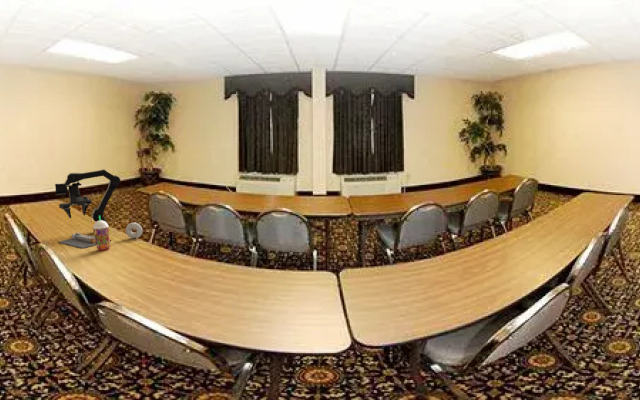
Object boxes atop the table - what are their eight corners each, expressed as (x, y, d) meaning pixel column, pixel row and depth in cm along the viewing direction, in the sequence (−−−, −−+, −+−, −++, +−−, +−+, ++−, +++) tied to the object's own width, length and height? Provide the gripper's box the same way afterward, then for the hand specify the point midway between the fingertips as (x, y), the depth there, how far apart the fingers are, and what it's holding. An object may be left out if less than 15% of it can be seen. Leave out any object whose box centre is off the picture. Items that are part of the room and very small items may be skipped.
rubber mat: (86, 235, 310) (86, 234, 310) (111, 241, 295) (111, 240, 295) (58, 242, 296) (58, 241, 295) (82, 248, 280) (82, 247, 280)
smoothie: (96, 252, 272) (91, 218, 268) (95, 249, 279) (90, 215, 275) (112, 250, 276) (108, 216, 272) (110, 246, 283) (106, 213, 279)
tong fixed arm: (72, 238, 301) (71, 233, 301) (78, 237, 305) (77, 231, 304) (92, 243, 288) (92, 237, 288) (99, 241, 292) (98, 236, 291)
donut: (125, 239, 297) (123, 223, 295) (127, 238, 301) (125, 222, 299) (142, 238, 298) (140, 222, 296) (143, 237, 301) (142, 221, 300)
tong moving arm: (76, 239, 299) (75, 235, 298) (78, 238, 300) (78, 234, 300) (93, 243, 289) (92, 239, 288) (95, 242, 290) (95, 238, 289)
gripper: (66, 196, 295) (70, 221, 298) (95, 191, 310) (98, 215, 313) (57, 195, 301) (60, 219, 304) (85, 190, 316) (88, 213, 319)
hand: (77, 216), depth 310 cm, fingers open, 9 cm apart
